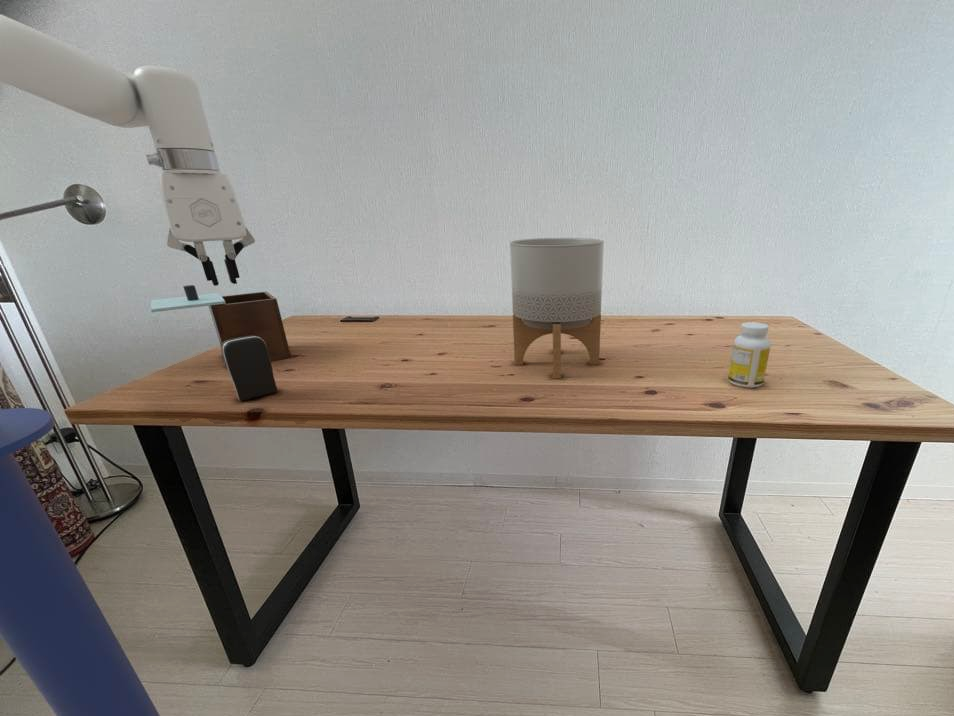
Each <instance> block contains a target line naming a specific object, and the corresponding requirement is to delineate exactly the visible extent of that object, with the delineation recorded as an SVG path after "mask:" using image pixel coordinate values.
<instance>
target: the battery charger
mask: <svg viewBox="0 0 954 716" xmlns="http://www.w3.org/2000/svg"><path fill="white" fill-rule="evenodd" d="M220 349H221V350H220V351H221V354H222V357H223V361H224V364H225V367H226V369H227V370H228V373H229V376H230V378H231V381H232V384H233V387H234V390H235V393H236V396H237V397H236V398H237V400H238V401H240V402H244V401H248V400H254V399H257V398H261V397H264V396H268V395H272V394H275V393H277V392H278V391H279V390H278V387H277V384H276V379H275V375H274V370H273V366H272V361H270V357H269V353H268V350H267V347H266V344H265V342H264V340H263V339H260V337H257V336H253V335H252V336H244V337H238V338H233V339H228V340H225V341H224V342H223V343H222V345H220Z"/></svg>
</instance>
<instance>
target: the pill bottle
mask: <svg viewBox="0 0 954 716" xmlns="http://www.w3.org/2000/svg"><path fill="white" fill-rule="evenodd" d="M769 328H770V327H769V325H768V324H766V323H762V322H755V321H754V322H753V321H747V322H743V323H741V325H740V333H741V334H740V335H738V336H737V337H735V338H734V340H733V344H732V352H731V357H730V364H729V371H728V378H727V379H728V382H729V383H730V384H732V385H734V386H736V387H737V386H738V387H742V388H748V389H749V388H751V389H752V388H758V387H761V386H762V385H763V384H764V382H765V378H766V371H767V366H768V361H769V358H770V357H769V356H770V351H771V345H772V343H771V341H770V339H769V338H768V337H766V336H767V335H768V333H769Z"/></svg>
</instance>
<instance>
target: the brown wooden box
mask: <svg viewBox="0 0 954 716" xmlns="http://www.w3.org/2000/svg"><path fill="white" fill-rule="evenodd" d="M221 296H222V298H223V299H224V300H225V302H226V304H219V305H210V306H207V307H208V309H209V313H210V316H211V319H212V323H213V325H214V329H215V333H216V335H217V339H218V341H219V345H220V346H221V345H222V343H223V342H224V341H225V340H228V339H233V338H238V337H244V336H252V335H253V336H257V337H260V339H263V340H264V342H265V344H266V347H267V350H268V353H269V357H270V361H271V362H274V361H275V362H276V361H281V360H285V359H290V358H292V356H291V352H290V347H289V343H288V340H287V335H286V332H285V328H284V327H285V326H284V323H283V319H282V315H281V311H280V307H279V302H278V299H277V298H276V297H275V296H274V295H272V294H271V293H270V292H268V291H266V290H265V291H258V292H248V293H240V294H233V295H232V294H230V295H221Z"/></svg>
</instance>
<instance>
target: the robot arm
mask: <svg viewBox="0 0 954 716" xmlns="http://www.w3.org/2000/svg"><path fill="white" fill-rule="evenodd" d="M0 82H1V83H3V84H6V85H8V86H11V87H13V88H16V89H18V90H21V91H23V92H26V93H28V94H31V95H34V96H36V97H38V98H41V99H42V100H43V99H44V100H46V101H49V102H51V103H53V104H55V105H58V106H60V107H63V108H66V109H68V110H71V111H74V112H75V113H77V114H80V115H82V116H86V117H88V118H91V119H95V120H98V121H100V122H103V123H105V124H108V125H110V126H114V127H117V128H124V129H125V128H127V129H131V128H142V127H148V129H149V132H150V136H151V139H152V143H153V145H154V149H155V150H156V152H154V153H151V154H145V156H146V160H147V163H148V165H150V166H151V165H153V166H156V167H158V168H161V170H162V172H159V173H157V180H158V186H159V187H158V188H159V192H160V197H161V201H162V205H163V209H164V213H165V216H166V219H167V222H168V226H169V228H168V229H169V230H168V235H167V242H166V244H167V247H169V248H171V249H175V250H178V251H182V252H185V253H187V254H189V255H191V257H192V256H193V257H194V258H196V260H199V261H200V263H201V265H202V268H203V272H204V275H205V279H206V281H207V282H208V281H211V283H212V285H213V287H215V286H216V287H217V286H219V285H220V284H219V280H218V276H217V273H216V270H215V266H214V263H213V261H212V260H211V259H210V258H211V257H209V256H208V255H207V252H206V251H207V250H206V248H205V245H204V242H215V241H216V242H217V241H221V242H222V245H223V249H224V260H223V261H224V265H225V268H226V272H227V275H228V278H229V282H230V283H231V284H233V285H237V284H238V282H237V281H238V280H237V279H240V278H241V276H240V273H239V270H238V269H239V268H238V266H237V262H236V259H237V256H239V254H240V253H241V252H242V250H243V249H245V248H247V247H248V246H249V247H250V246H251V245H252V244H255V243H256V240H255V238H254V236H253V234H252V233H251V232H250V230H248V228H247V227H246V224H245V221H244V217H243V214H242V210H241V208H240V204H239V202H238V199H237V195H236V193H235V190H234V188H233V185H232V184H231V180H230V179H229V176H228V175H227V174H224V173H221V169H220V166H219V162H218V159H217V154H216V151H215V148H214V147H215V146H214V144H213V140H212V137H211V133H210V128H209V125H208V121H207V117H206V113H205V110H204V107H203V102H202V100H201V95H200V91H199V88H198V84H197V82H196V81H195V79H194V78H193V77H192V76H191V75H190V74H189V73H187V72H186V71H183V70H181V69H178V68H173V67H168V66H161V65H143V66H139V67H137V68H135V70H134V71H133V72H127V71H123V70H121V69H118V68H116V67H113V66H112V65H111V64H109V63H107V62H105V61H103V60H102V59H100V58H98V57H97V56H95V55H92V54H91V53H89V52H87V51H84V50H83V49H80V48H77V46H76V47H75V46H74V45H71V44H69V43H67V42H64V41H63V40H60V39H58V38H56V37H53V36H51V35H49V34H47V33H44V32H42V31H40V30H38V29H35V28H33V27H31V26H29V25H27V24H24V23H22V22H20V21H17V20H16V19H13V18H11V17H8V16H6V15H4V14H1V13H0ZM236 240H237V241H236ZM233 241H235V242H234V243H233ZM190 242H191V243H193V246H192V245H191V244H188V243H190Z"/></svg>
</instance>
